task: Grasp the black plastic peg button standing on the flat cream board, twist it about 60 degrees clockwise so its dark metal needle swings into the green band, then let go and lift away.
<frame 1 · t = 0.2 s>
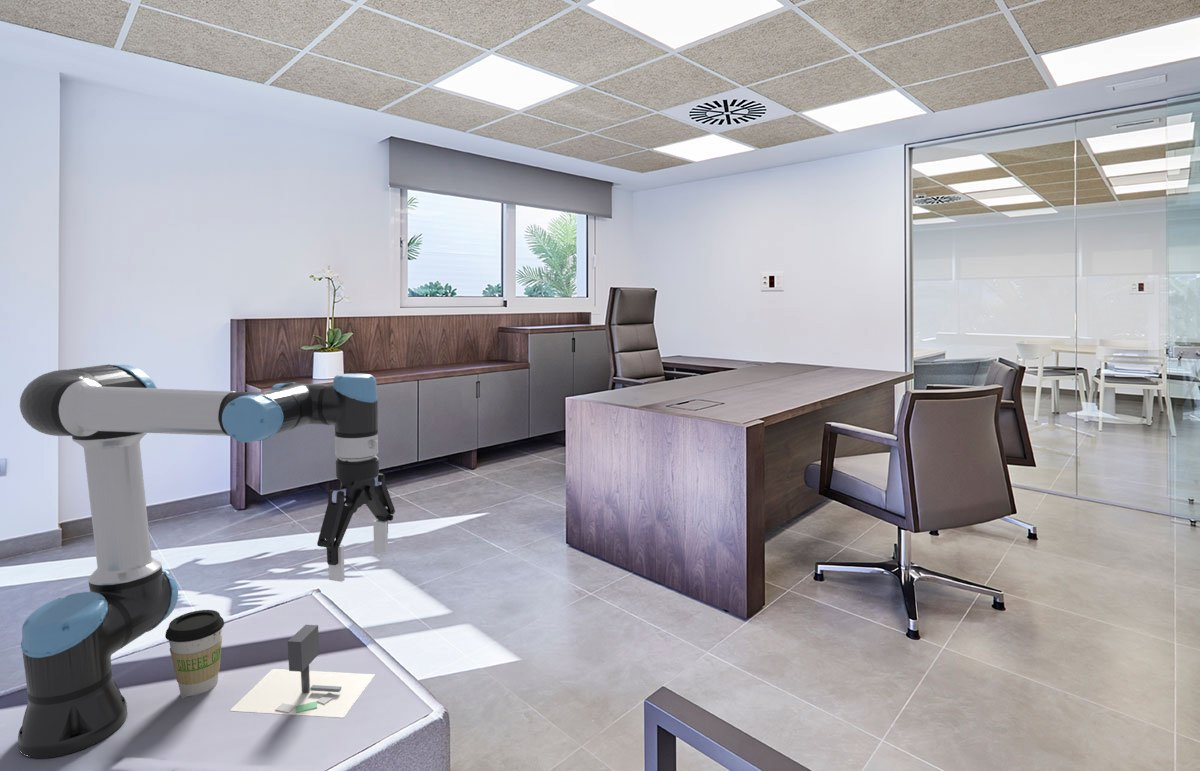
hand: (360, 565, 121), 27 cm above the table, fingers open, 13 cm apart
flat cream board: (306, 697, 125), on the table
coffee cup: (199, 692, 127), on the table
peg: (318, 662, 124), point 7 cm above the table, hinge at 0.0°
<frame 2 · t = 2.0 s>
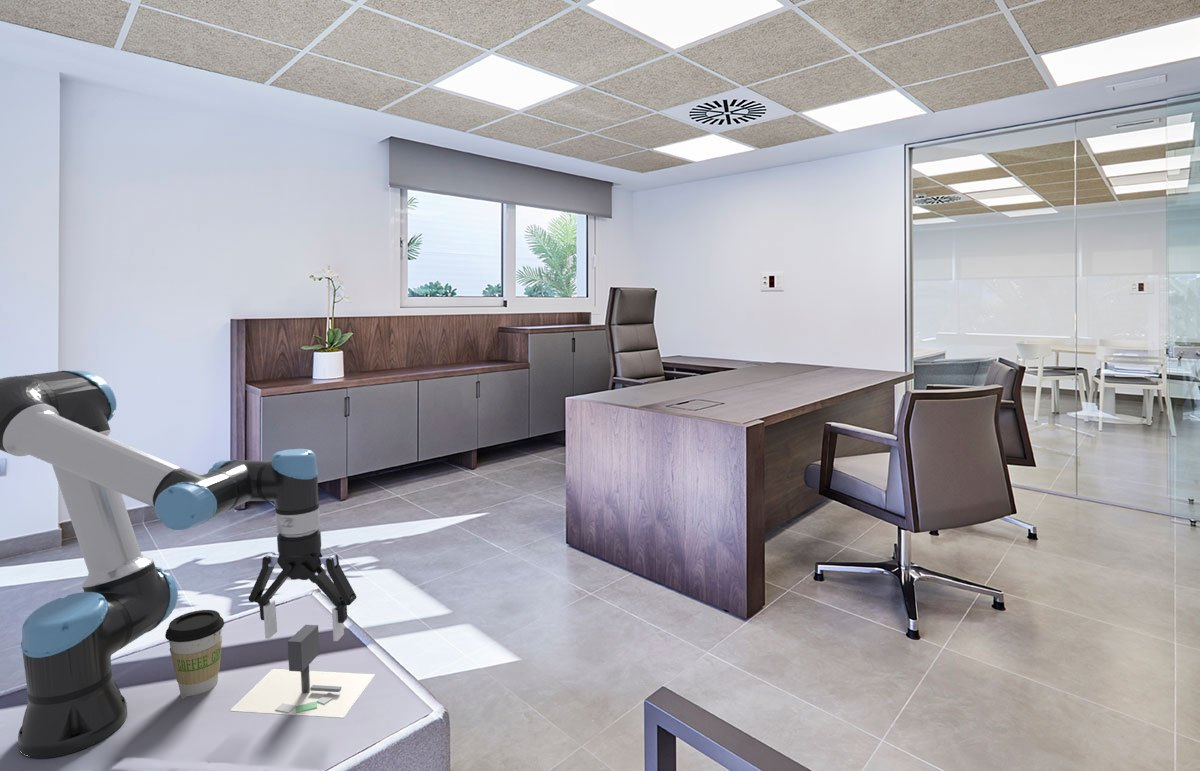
hand: (305, 636, 124), 13 cm above the table, fingers open, 13 cm apart
nothing on the table moved.
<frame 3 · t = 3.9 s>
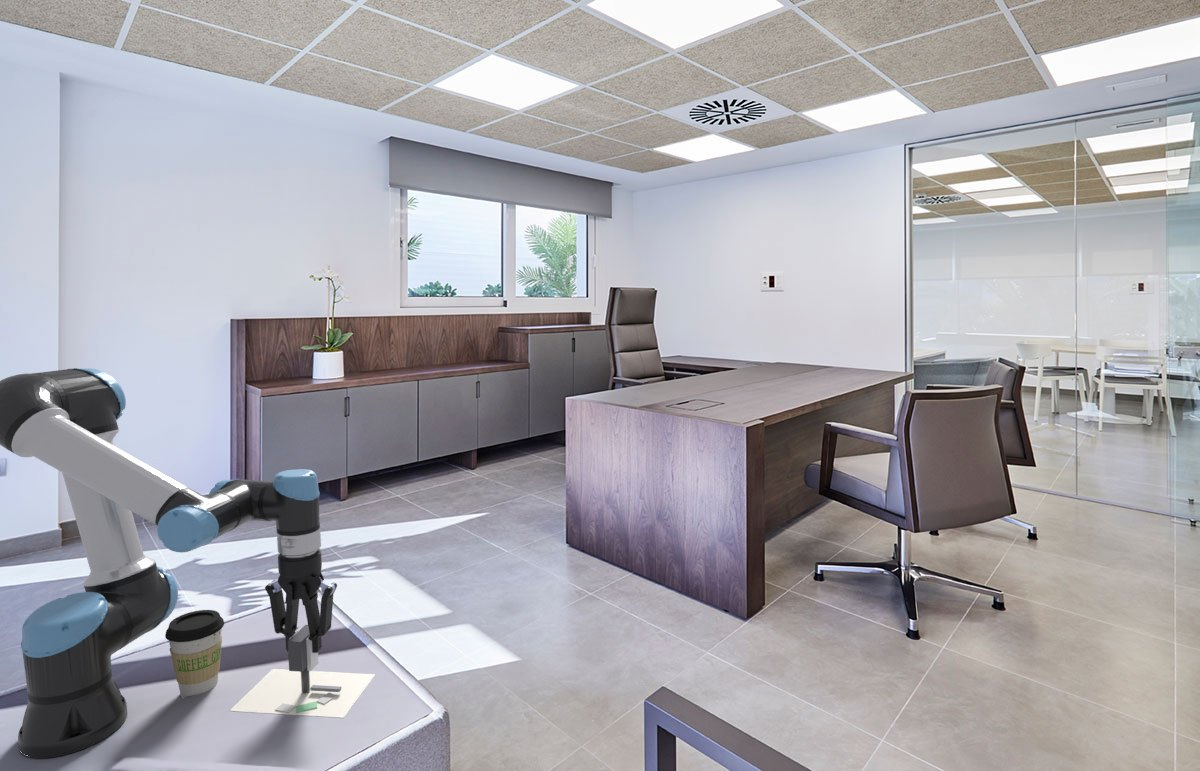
hand: (304, 666, 124), 7 cm above the table, fingers closed on peg, 3 cm apart
peg: (318, 662, 124), point 7 cm above the table, hinge at 0.0°, touching gripper
everything else where it was.
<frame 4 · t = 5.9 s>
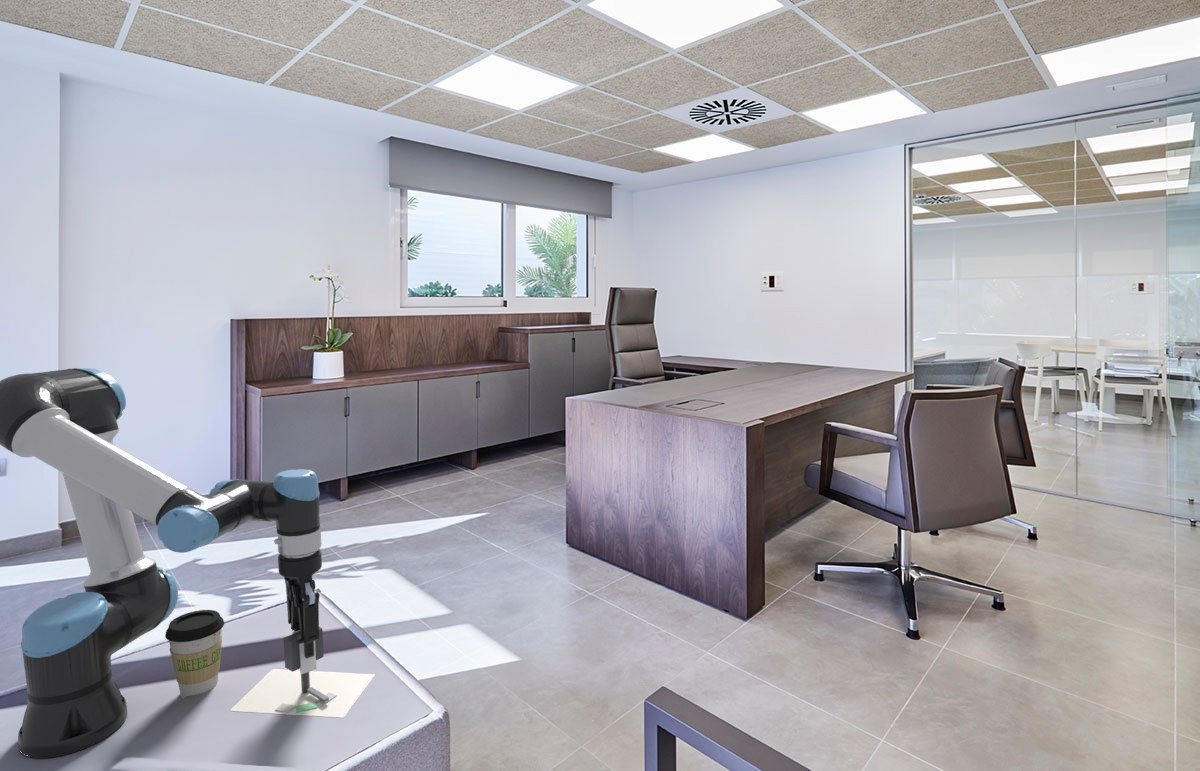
hand: (304, 666, 124), 7 cm above the table, fingers closed on peg, 3 cm apart
peg: (313, 666, 123), point 7 cm above the table, hinge at -30.1°, touching gripper
everything else where it was.
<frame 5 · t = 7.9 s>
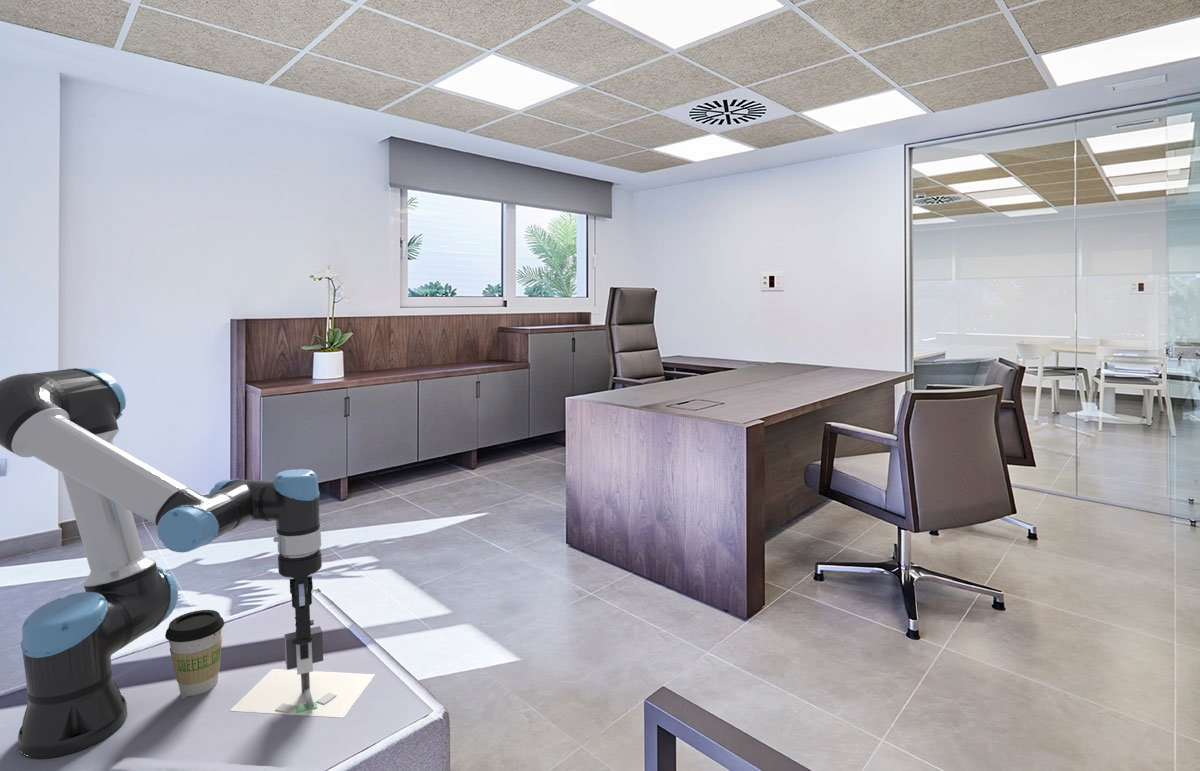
hand: (304, 665, 124), 7 cm above the table, fingers open, 4 cm apart
peg: (306, 669, 122), point 7 cm above the table, hinge at -53.6°
everything else where it was.
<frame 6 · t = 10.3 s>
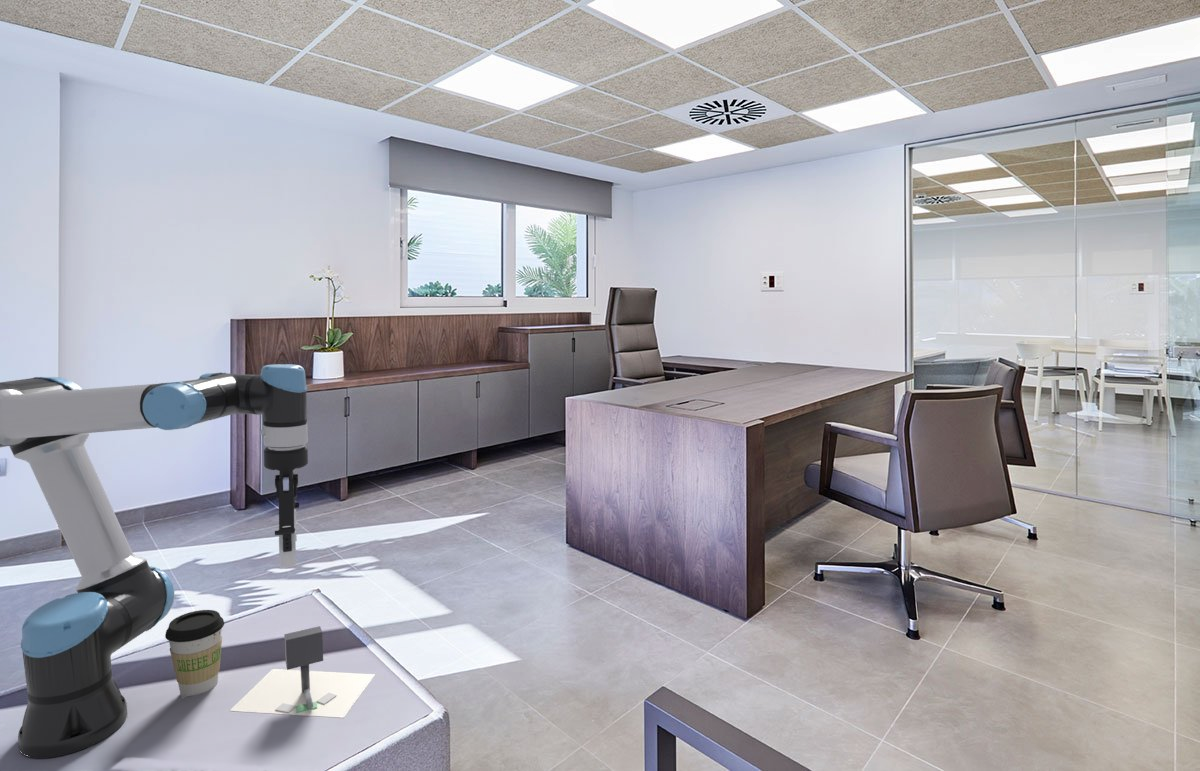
hand: (288, 553, 123), 29 cm above the table, fingers open, 13 cm apart
peg: (306, 669, 122), point 7 cm above the table, hinge at -54.6°
everything else where it was.
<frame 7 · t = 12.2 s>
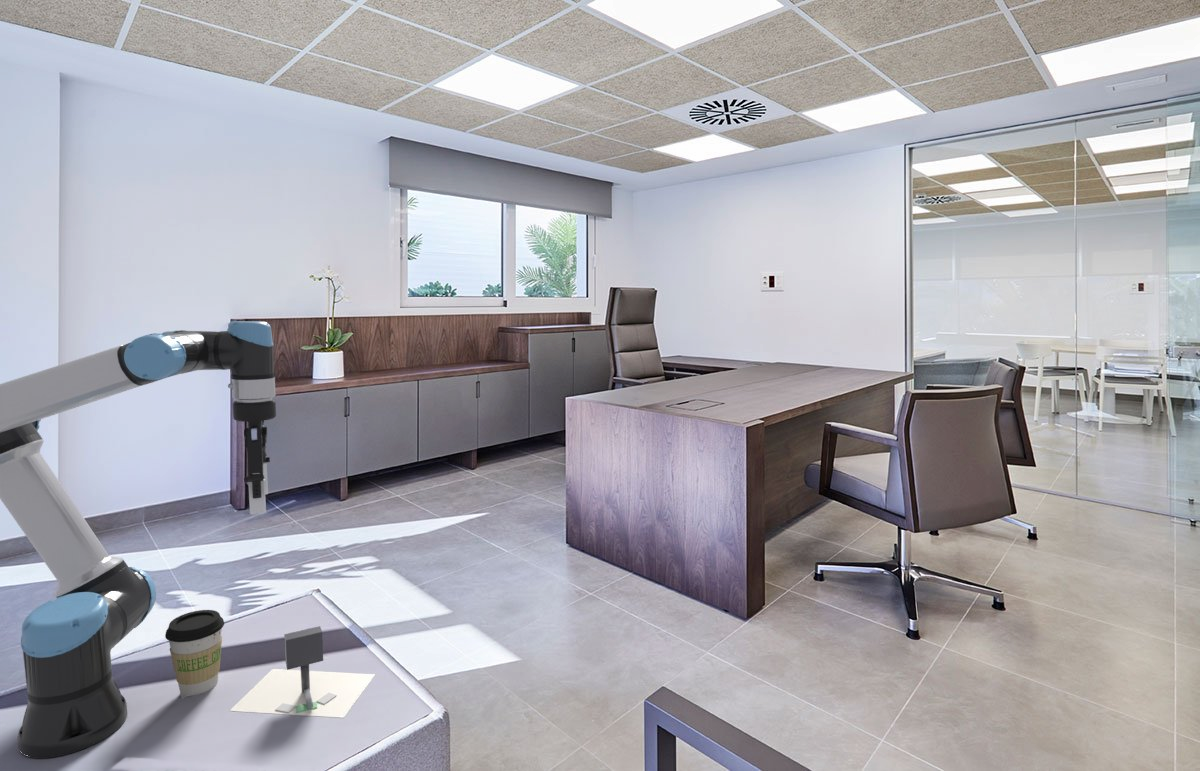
hand: (259, 503, 129), 37 cm above the table, fingers open, 13 cm apart
nothing on the table moved.
at the end: peg at -55° (first picture: +0°); the gripper is holding nothing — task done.
